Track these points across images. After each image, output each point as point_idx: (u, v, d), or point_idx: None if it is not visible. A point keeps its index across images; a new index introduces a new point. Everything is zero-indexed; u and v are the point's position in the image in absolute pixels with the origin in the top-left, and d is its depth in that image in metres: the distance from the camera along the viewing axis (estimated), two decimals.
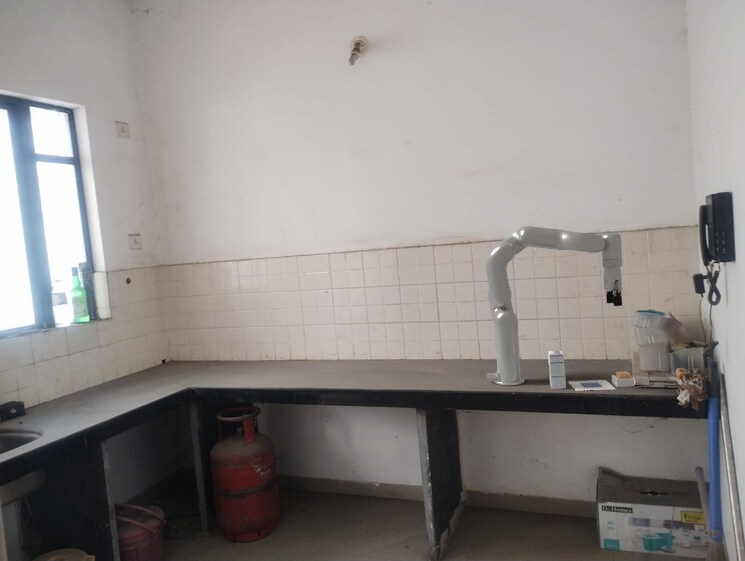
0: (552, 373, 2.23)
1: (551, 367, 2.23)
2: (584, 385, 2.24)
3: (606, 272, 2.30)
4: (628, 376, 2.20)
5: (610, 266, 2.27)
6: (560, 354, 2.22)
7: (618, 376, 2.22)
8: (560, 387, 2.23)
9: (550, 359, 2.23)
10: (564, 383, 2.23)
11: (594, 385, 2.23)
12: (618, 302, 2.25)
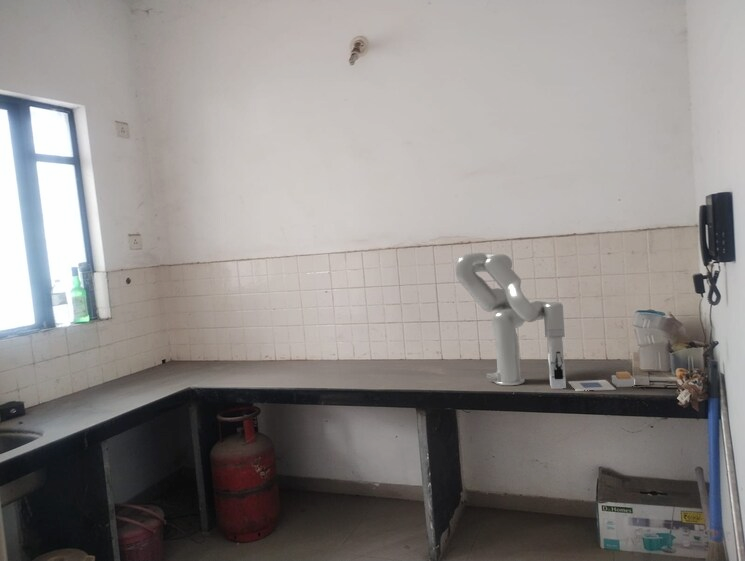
0: (552, 373, 2.23)
1: (551, 367, 2.23)
2: (584, 385, 2.24)
3: (548, 342, 2.24)
4: (628, 376, 2.20)
5: (552, 337, 2.22)
6: None
7: (618, 376, 2.22)
8: (560, 387, 2.23)
9: None
10: (564, 382, 2.23)
11: (594, 385, 2.23)
12: (559, 375, 2.22)
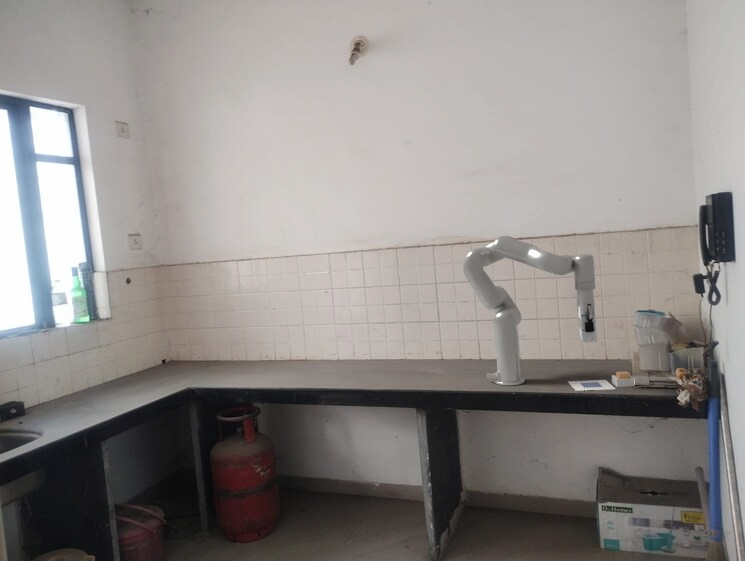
0: (583, 326, 2.20)
1: (582, 320, 2.20)
2: (584, 385, 2.24)
3: (579, 295, 2.21)
4: (628, 376, 2.20)
5: (582, 289, 2.19)
6: None
7: (618, 376, 2.22)
8: (591, 340, 2.20)
9: None
10: (595, 335, 2.20)
11: (594, 385, 2.23)
12: (590, 328, 2.19)
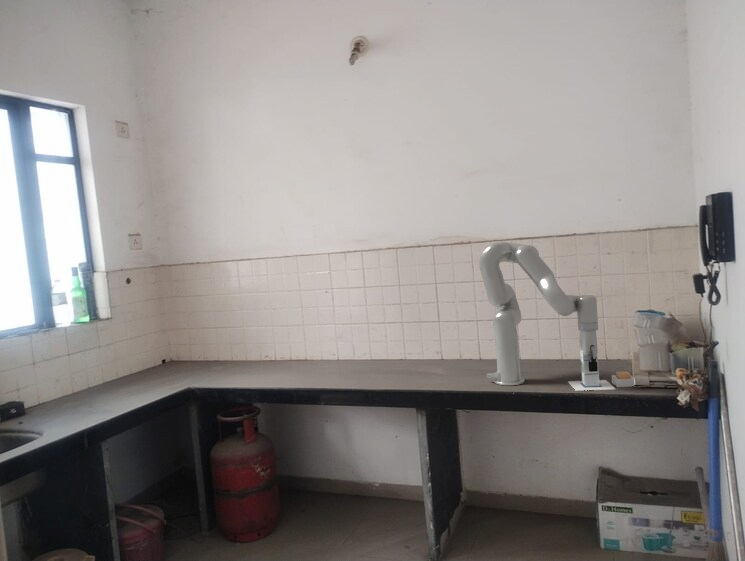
0: (586, 370, 2.22)
1: (585, 364, 2.21)
2: (584, 385, 2.24)
3: (582, 335, 2.22)
4: (628, 376, 2.20)
5: (585, 330, 2.20)
6: None
7: (618, 376, 2.22)
8: (594, 384, 2.21)
9: (583, 356, 2.21)
10: (597, 380, 2.21)
11: None
12: (593, 368, 2.18)
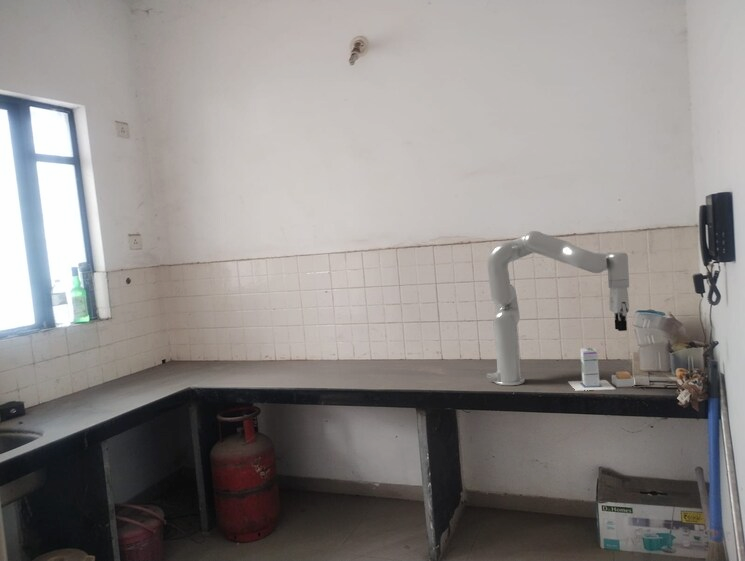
0: (586, 371, 2.22)
1: (585, 364, 2.21)
2: (584, 385, 2.24)
3: (612, 293, 2.20)
4: (628, 376, 2.20)
5: (617, 287, 2.17)
6: (594, 351, 2.21)
7: (618, 376, 2.22)
8: (594, 385, 2.21)
9: (584, 356, 2.21)
10: (597, 380, 2.21)
11: None
12: (623, 327, 2.18)
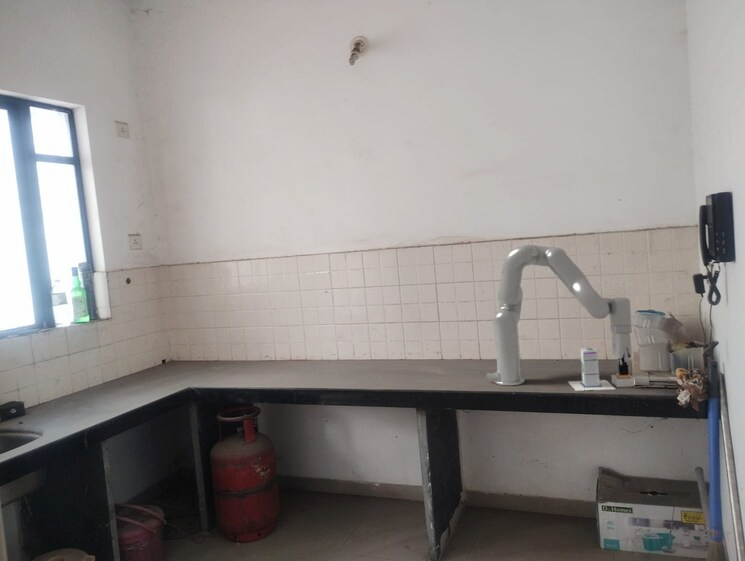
0: (586, 371, 2.22)
1: (585, 364, 2.21)
2: (584, 385, 2.24)
3: (615, 338, 2.21)
4: (628, 377, 2.20)
5: (619, 332, 2.18)
6: (594, 351, 2.21)
7: (618, 377, 2.22)
8: (594, 385, 2.21)
9: (584, 356, 2.21)
10: (597, 380, 2.21)
11: None
12: (624, 371, 2.21)
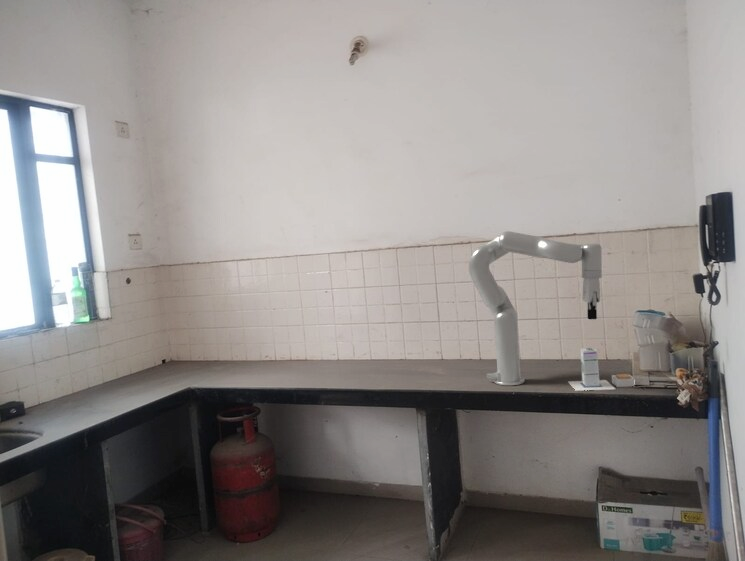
0: (586, 371, 2.22)
1: (585, 364, 2.21)
2: (584, 385, 2.24)
3: (585, 283, 2.26)
4: None
5: (589, 277, 2.24)
6: (594, 351, 2.21)
7: None
8: (594, 385, 2.21)
9: (584, 356, 2.21)
10: (597, 380, 2.21)
11: None
12: (593, 315, 2.27)
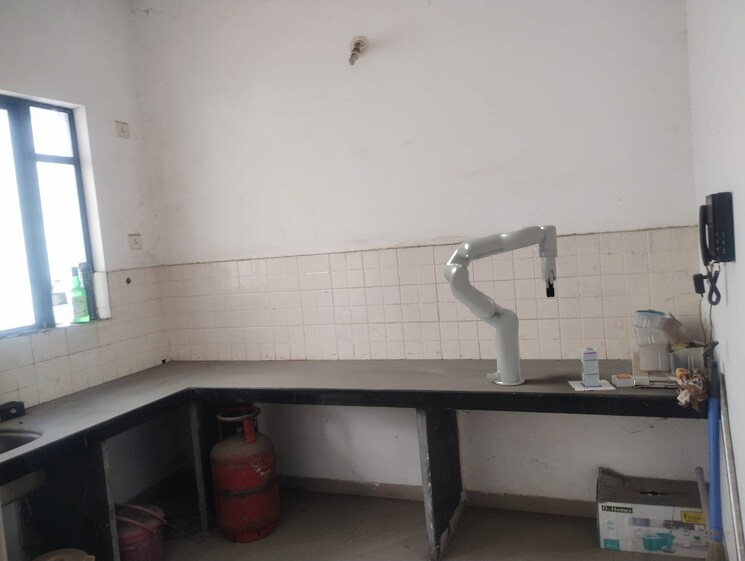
0: (586, 371, 2.22)
1: (585, 364, 2.21)
2: (584, 385, 2.24)
3: (542, 263, 2.38)
4: None
5: (545, 257, 2.35)
6: (594, 351, 2.21)
7: None
8: (594, 385, 2.21)
9: (584, 356, 2.21)
10: (597, 380, 2.21)
11: None
12: (551, 293, 2.38)
